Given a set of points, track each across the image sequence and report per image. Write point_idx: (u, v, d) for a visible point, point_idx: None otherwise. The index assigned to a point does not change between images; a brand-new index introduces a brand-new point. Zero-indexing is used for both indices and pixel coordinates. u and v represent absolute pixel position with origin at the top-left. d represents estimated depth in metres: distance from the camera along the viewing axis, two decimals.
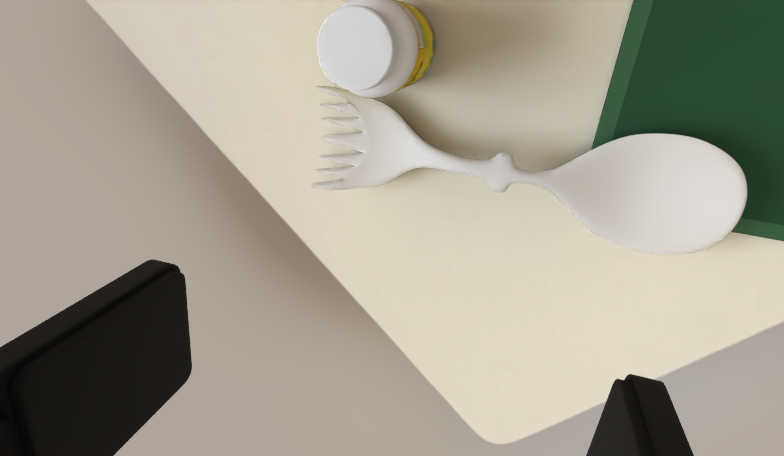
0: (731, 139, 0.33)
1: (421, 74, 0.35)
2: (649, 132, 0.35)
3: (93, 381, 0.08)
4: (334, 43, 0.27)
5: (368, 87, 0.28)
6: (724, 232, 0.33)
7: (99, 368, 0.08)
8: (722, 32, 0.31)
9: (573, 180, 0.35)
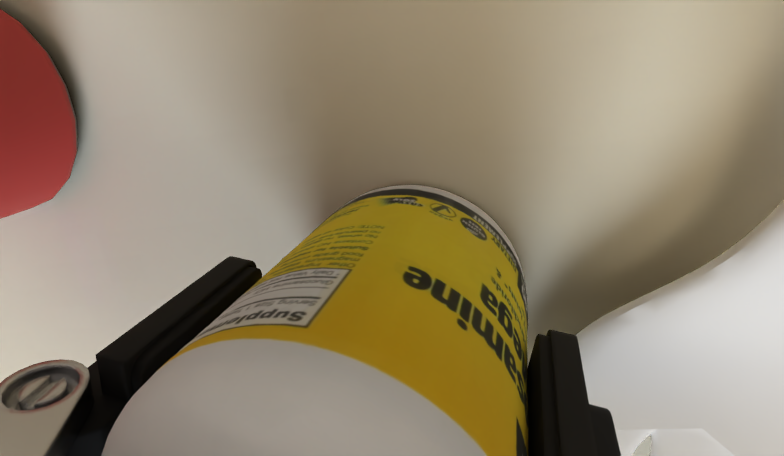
0: None
1: (482, 247, 0.10)
2: None
3: None
4: None
5: None
6: None
7: None
8: None
9: None
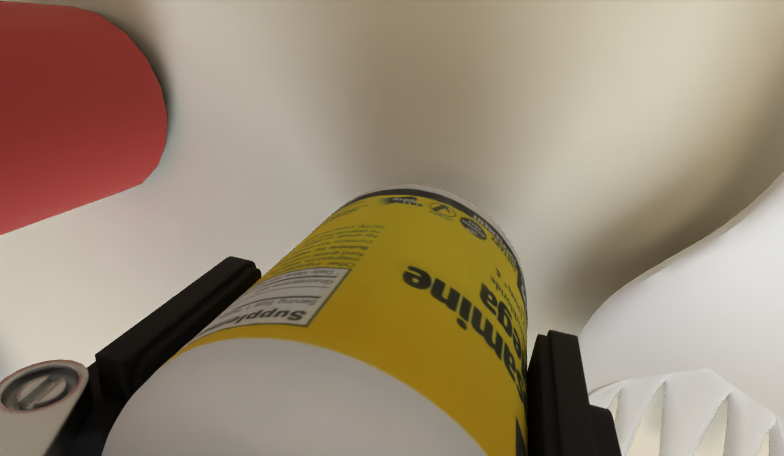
0: None
1: (481, 247, 0.10)
2: None
3: None
4: None
5: None
6: None
7: None
8: None
9: None
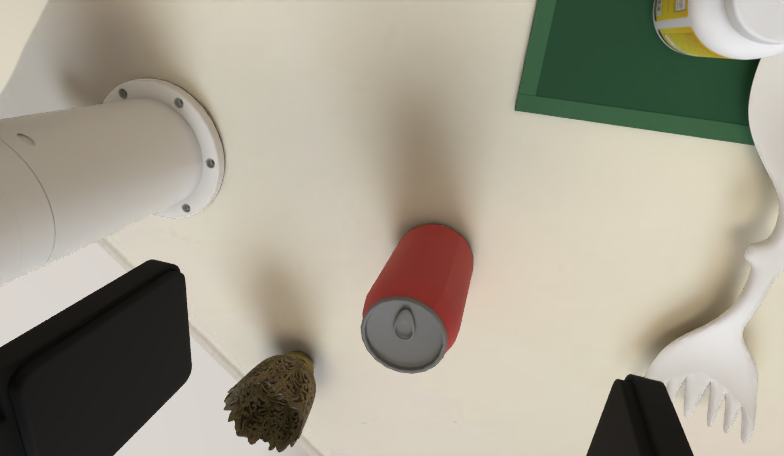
0: None
1: None
2: (744, 85, 0.30)
3: (93, 381, 0.08)
4: (782, 13, 0.20)
5: None
6: None
7: (99, 368, 0.08)
8: (637, 32, 0.30)
9: None
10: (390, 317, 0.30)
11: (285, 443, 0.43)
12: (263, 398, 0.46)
